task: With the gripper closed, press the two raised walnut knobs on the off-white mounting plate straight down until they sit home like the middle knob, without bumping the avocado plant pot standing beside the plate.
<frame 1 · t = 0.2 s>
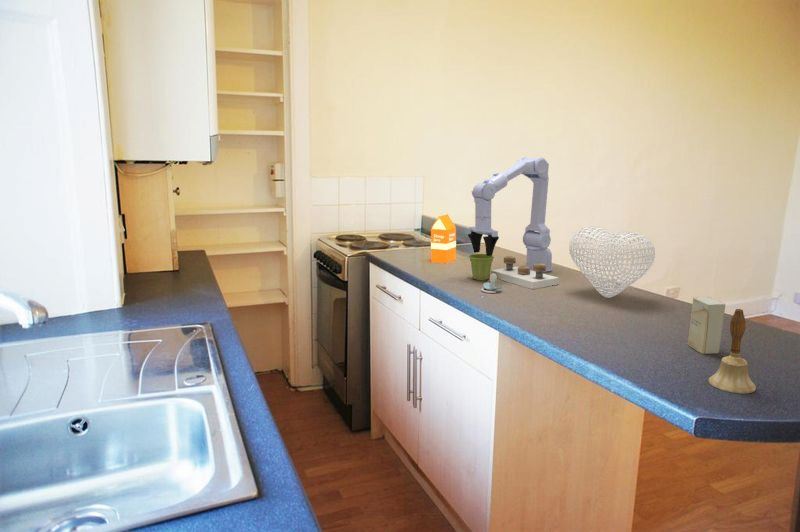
hand: (482, 253, 201), 10 cm above the worktop, tool pointing down, fingers open, 7 cm apart
knob 1: (509, 263, 208), point 5 cm above the worktop, slide at 2.5 cm
orange juice: (443, 261, 240), on the worktop
skincare box: (703, 350, 131), on the worktop
knob middle: (523, 273, 202), point 3 cm above the worktop, slide at 0.0 cm
heart: (607, 298, 177), on the worktop
plant pot: (481, 279, 207), on the worktop
knob 2: (539, 270, 194), point 5 cm above the worktop, slide at 2.5 cm
pacifier: (490, 292, 188), on the worktop
hand bell: (731, 385, 112), on the worktop
mount plate: (523, 280, 202), on the worktop
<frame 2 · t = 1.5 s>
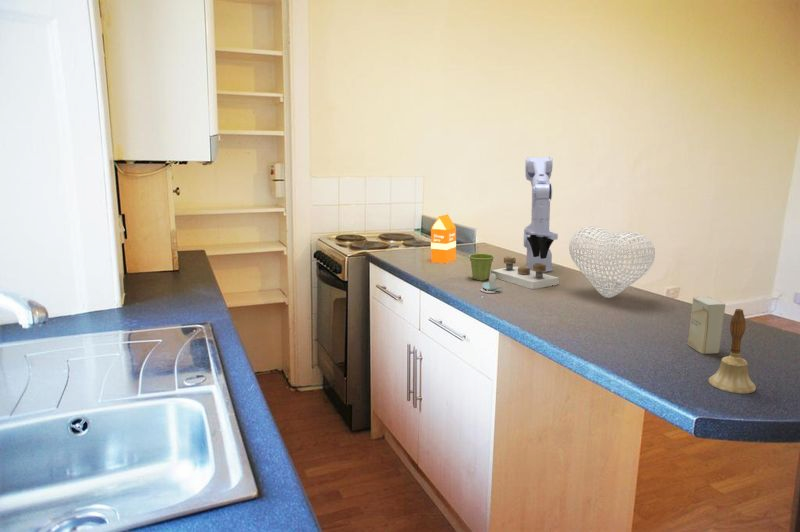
hand: (539, 257, 193), 10 cm above the worktop, tool pointing down, fingers open, 3 cm apart
nothing on the worktop moved.
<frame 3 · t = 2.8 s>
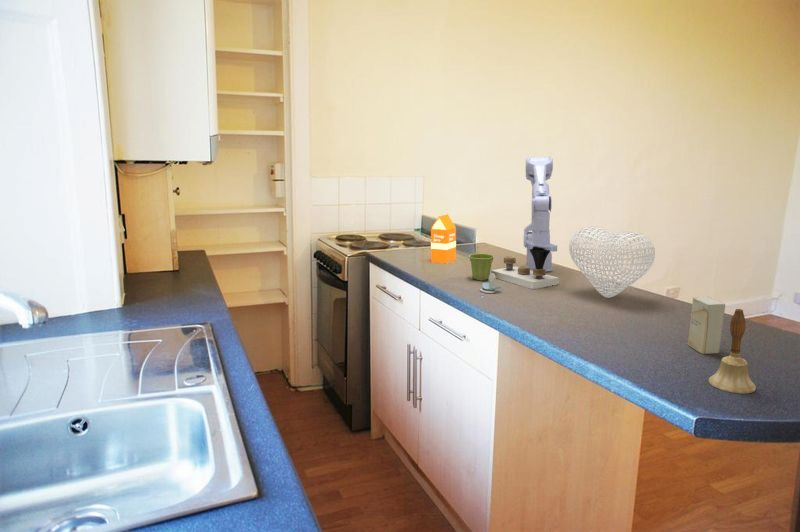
hand: (539, 268, 194), 6 cm above the worktop, tool pointing down, fingers closed, pressing on knob 2
knob 2: (539, 275, 195), point 4 cm above the worktop, slide at 1.0 cm, touching gripper
everything else where it was.
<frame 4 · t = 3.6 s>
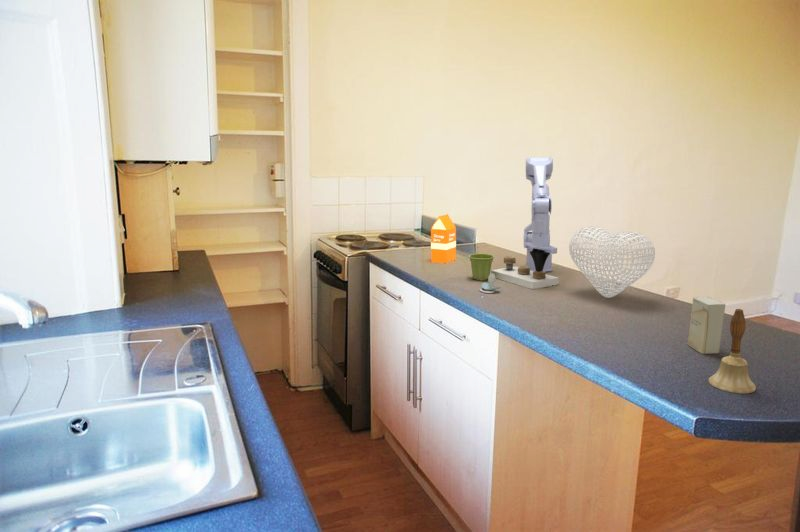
hand: (539, 270, 194), 5 cm above the worktop, tool pointing down, fingers closed
knob 2: (539, 277, 195), point 3 cm above the worktop, slide at -0.1 cm
everything else where it was.
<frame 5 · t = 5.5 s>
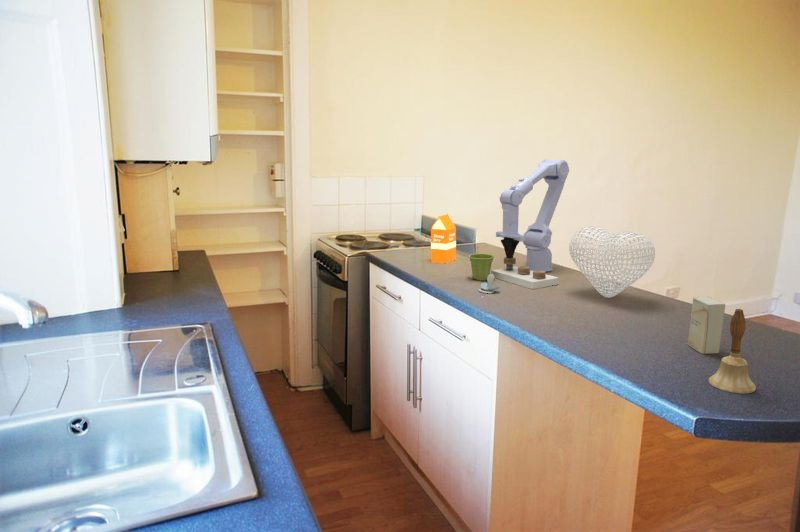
hand: (509, 258, 208), 7 cm above the worktop, tool pointing down, fingers closed, pressing on knob 1
knob 1: (509, 263, 208), point 5 cm above the worktop, slide at 2.2 cm, touching gripper
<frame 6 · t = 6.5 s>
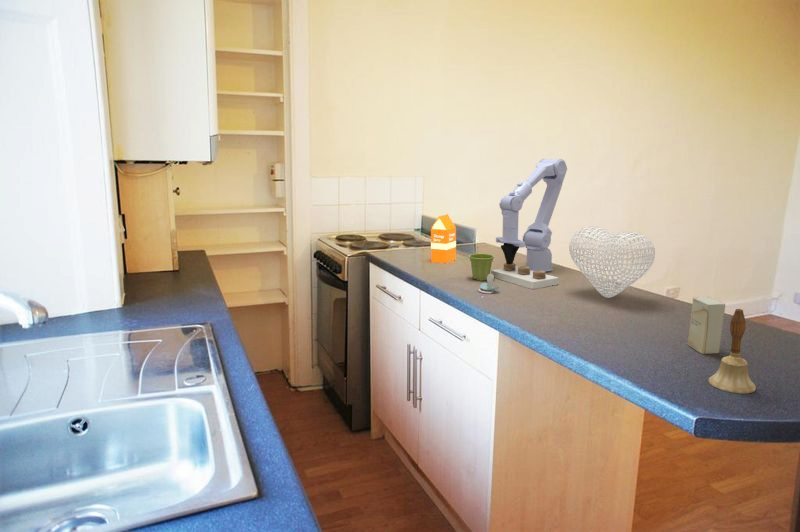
hand: (509, 263, 208), 5 cm above the worktop, tool pointing down, fingers closed
knob 1: (509, 269, 209), point 3 cm above the worktop, slide at -0.1 cm
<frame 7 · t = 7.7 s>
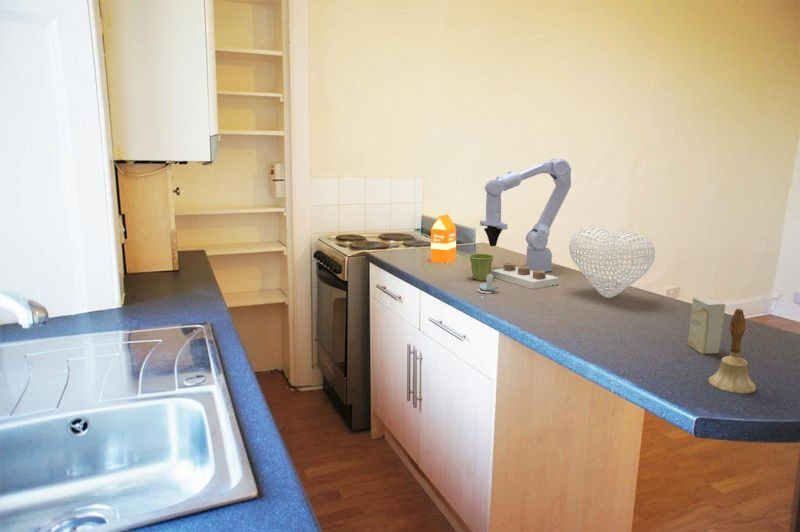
hand: (493, 245, 215), 10 cm above the worktop, tool pointing down, fingers closed
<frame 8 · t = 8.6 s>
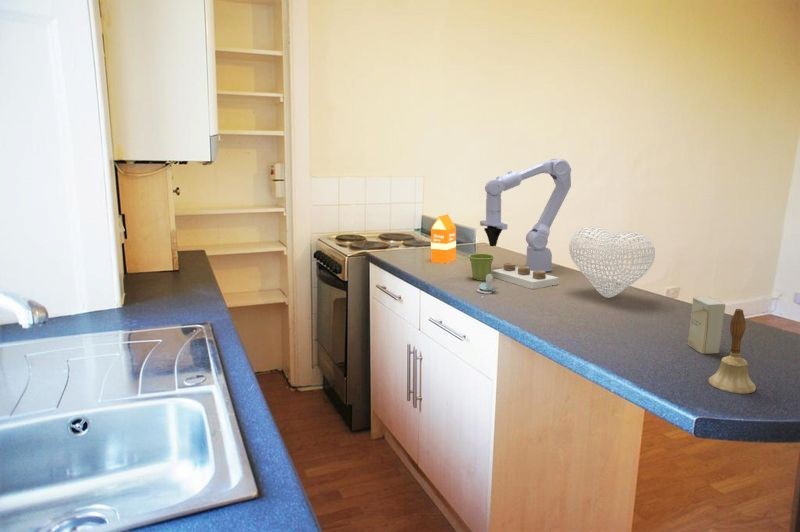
hand: (493, 245, 215), 10 cm above the worktop, tool pointing down, fingers closed
at the end: knob 2 slide at -0.1 cm; knob 1 slide at -0.1 cm; plant pot moved 0.2 cm from its start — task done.
